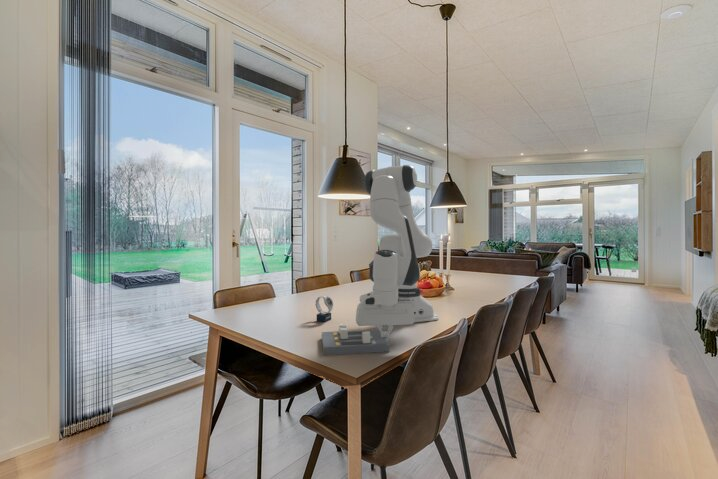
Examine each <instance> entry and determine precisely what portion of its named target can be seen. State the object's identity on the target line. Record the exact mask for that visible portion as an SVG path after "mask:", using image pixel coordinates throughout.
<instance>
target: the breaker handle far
mask: <svg viewBox="0 0 718 479" xmlns="http://www.w3.org/2000/svg"><path fill="white" fill-rule="evenodd" d="M340 328H347V324H346V323H338V331H339V334H340Z"/></svg>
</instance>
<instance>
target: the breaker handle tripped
mask: <svg viewBox="0 0 718 479" xmlns="http://www.w3.org/2000/svg"><path fill="white" fill-rule="evenodd" d="M362 342H363V343H370V333H369V332H362Z"/></svg>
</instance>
